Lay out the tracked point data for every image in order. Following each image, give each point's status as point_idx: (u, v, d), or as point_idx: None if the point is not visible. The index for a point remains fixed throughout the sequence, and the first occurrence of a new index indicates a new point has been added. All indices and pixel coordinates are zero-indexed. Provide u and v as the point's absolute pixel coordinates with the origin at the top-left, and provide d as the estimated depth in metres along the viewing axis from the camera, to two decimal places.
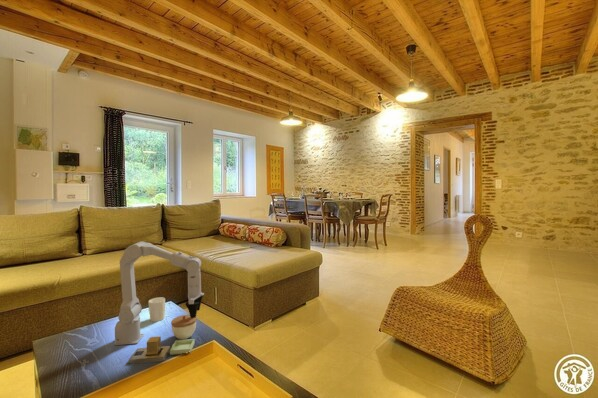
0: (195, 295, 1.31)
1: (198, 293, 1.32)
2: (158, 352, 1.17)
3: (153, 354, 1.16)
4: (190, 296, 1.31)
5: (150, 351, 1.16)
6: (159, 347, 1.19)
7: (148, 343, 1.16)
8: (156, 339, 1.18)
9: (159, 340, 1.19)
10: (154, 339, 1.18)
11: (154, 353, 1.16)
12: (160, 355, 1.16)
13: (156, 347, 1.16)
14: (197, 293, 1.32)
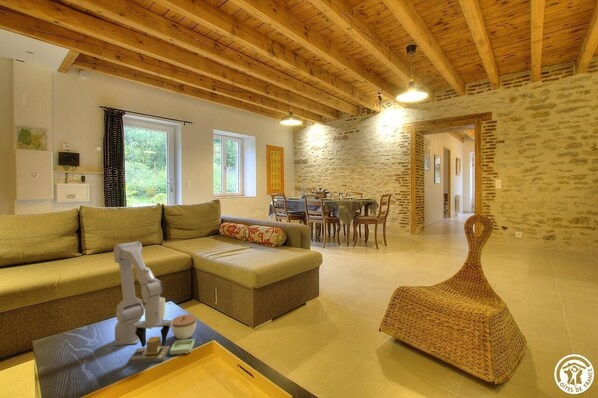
0: (145, 323, 1.16)
1: (146, 323, 1.15)
2: (158, 352, 1.17)
3: (153, 354, 1.16)
4: None
5: (150, 351, 1.16)
6: (159, 347, 1.19)
7: (148, 343, 1.16)
8: (156, 339, 1.18)
9: (159, 340, 1.19)
10: (154, 339, 1.18)
11: (154, 353, 1.16)
12: (160, 355, 1.16)
13: (156, 347, 1.16)
14: (145, 323, 1.16)
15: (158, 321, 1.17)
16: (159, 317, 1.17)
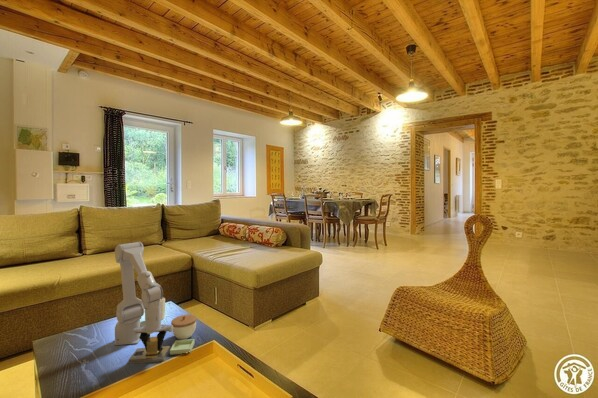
0: (145, 328, 1.17)
1: (146, 328, 1.15)
2: (158, 351, 1.17)
3: (153, 354, 1.16)
4: None
5: (150, 351, 1.16)
6: None
7: (148, 343, 1.16)
8: (156, 339, 1.18)
9: None
10: (154, 339, 1.18)
11: (154, 353, 1.16)
12: (160, 355, 1.16)
13: (156, 347, 1.16)
14: (145, 328, 1.16)
15: (158, 326, 1.17)
16: (159, 322, 1.17)
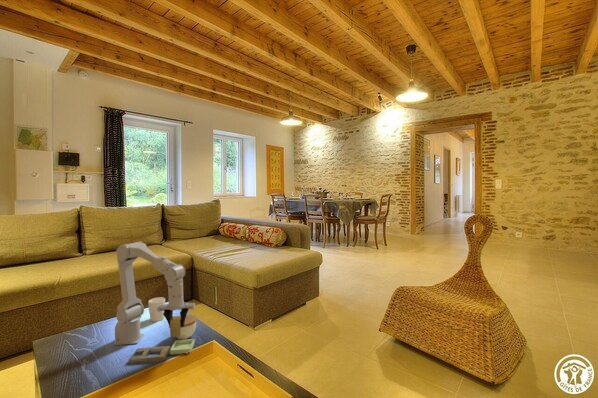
0: (168, 305, 1.20)
1: (169, 305, 1.19)
2: (180, 330, 1.21)
3: (176, 332, 1.20)
4: None
5: (173, 329, 1.20)
6: None
7: (171, 321, 1.20)
8: (179, 318, 1.21)
9: None
10: (177, 318, 1.21)
11: (177, 331, 1.20)
12: (160, 355, 1.16)
13: (179, 325, 1.20)
14: (169, 305, 1.20)
15: (181, 303, 1.21)
16: (182, 300, 1.21)
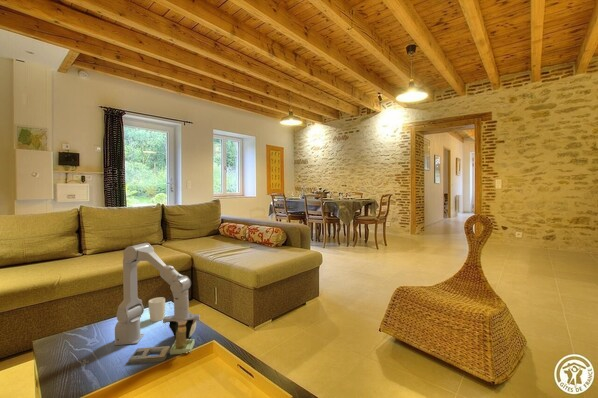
0: (174, 317, 1.22)
1: (175, 317, 1.21)
2: (186, 342, 1.22)
3: (182, 344, 1.21)
4: None
5: (179, 341, 1.21)
6: None
7: (177, 333, 1.21)
8: (184, 330, 1.23)
9: None
10: (182, 330, 1.23)
11: (183, 343, 1.21)
12: (160, 355, 1.16)
13: (184, 337, 1.21)
14: (174, 317, 1.21)
15: (187, 315, 1.22)
16: (187, 311, 1.22)
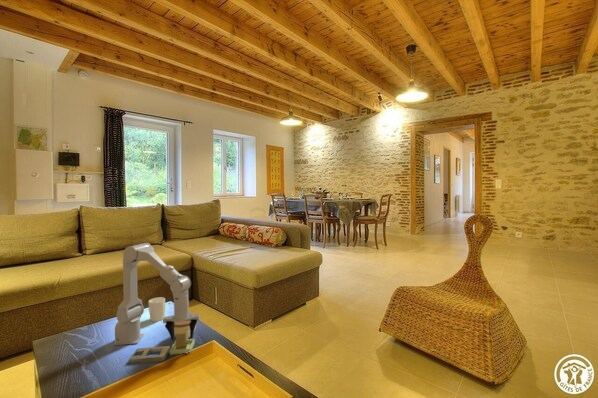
0: (174, 317, 1.22)
1: (175, 317, 1.21)
2: (186, 343, 1.22)
3: (182, 346, 1.21)
4: None
5: (179, 343, 1.21)
6: (187, 339, 1.24)
7: (177, 335, 1.21)
8: (184, 331, 1.23)
9: (187, 332, 1.24)
10: (182, 331, 1.23)
11: (183, 345, 1.21)
12: (160, 355, 1.16)
13: (185, 339, 1.21)
14: (175, 317, 1.21)
15: (187, 315, 1.22)
16: (187, 311, 1.22)
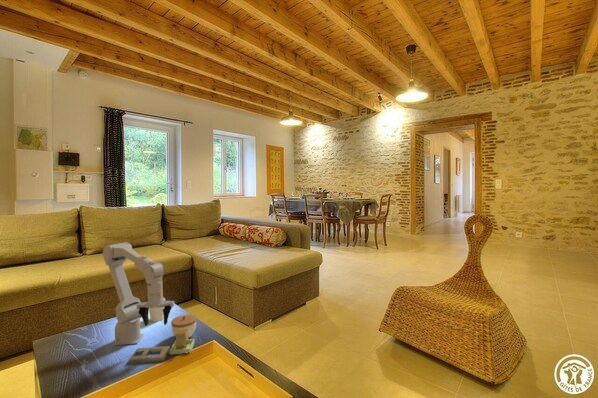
0: (147, 303, 1.22)
1: (148, 303, 1.21)
2: (186, 343, 1.22)
3: (182, 346, 1.21)
4: None
5: (179, 343, 1.21)
6: (187, 339, 1.24)
7: (177, 335, 1.21)
8: (184, 331, 1.23)
9: (187, 332, 1.24)
10: (182, 331, 1.23)
11: (183, 345, 1.21)
12: (160, 355, 1.16)
13: (185, 339, 1.21)
14: (148, 303, 1.21)
15: (160, 301, 1.22)
16: (161, 297, 1.23)
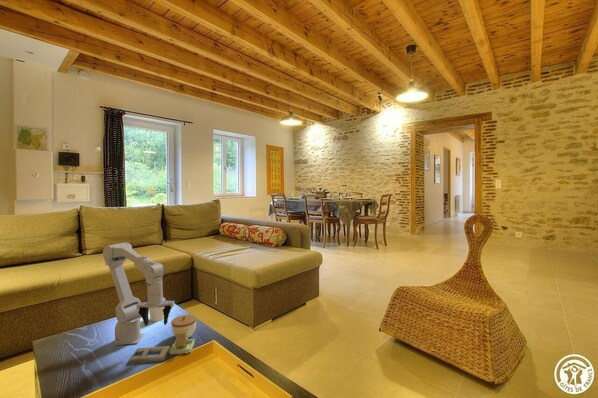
0: (147, 303, 1.22)
1: (148, 303, 1.21)
2: (186, 343, 1.22)
3: (182, 346, 1.21)
4: None
5: (179, 343, 1.21)
6: (187, 339, 1.24)
7: (177, 335, 1.21)
8: (184, 331, 1.23)
9: (187, 332, 1.24)
10: (182, 331, 1.23)
11: (183, 345, 1.21)
12: (160, 355, 1.16)
13: (185, 339, 1.21)
14: (148, 303, 1.21)
15: (160, 301, 1.22)
16: (161, 297, 1.23)
